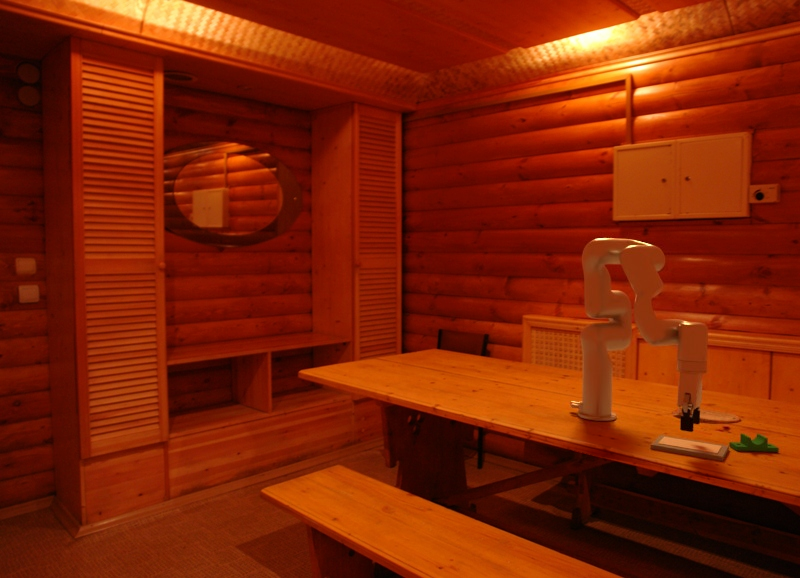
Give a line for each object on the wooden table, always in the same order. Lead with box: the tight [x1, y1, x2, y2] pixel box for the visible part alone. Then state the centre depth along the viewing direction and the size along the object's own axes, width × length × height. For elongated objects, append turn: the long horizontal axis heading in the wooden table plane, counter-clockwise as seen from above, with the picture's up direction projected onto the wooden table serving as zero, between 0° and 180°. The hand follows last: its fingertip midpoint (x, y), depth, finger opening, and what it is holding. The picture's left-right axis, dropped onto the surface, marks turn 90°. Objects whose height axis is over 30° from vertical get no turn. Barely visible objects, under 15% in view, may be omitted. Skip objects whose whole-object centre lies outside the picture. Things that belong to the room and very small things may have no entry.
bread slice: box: [670, 407, 742, 424], centre depth 202 cm, size 18×18×4 cm
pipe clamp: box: [728, 433, 780, 453], centre depth 170 cm, size 11×4×5 cm
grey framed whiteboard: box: [650, 434, 730, 462], centre depth 170 cm, size 18×12×1 cm, turn 55°
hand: (690, 427), depth 169 cm, fingers open, 9 cm apart
